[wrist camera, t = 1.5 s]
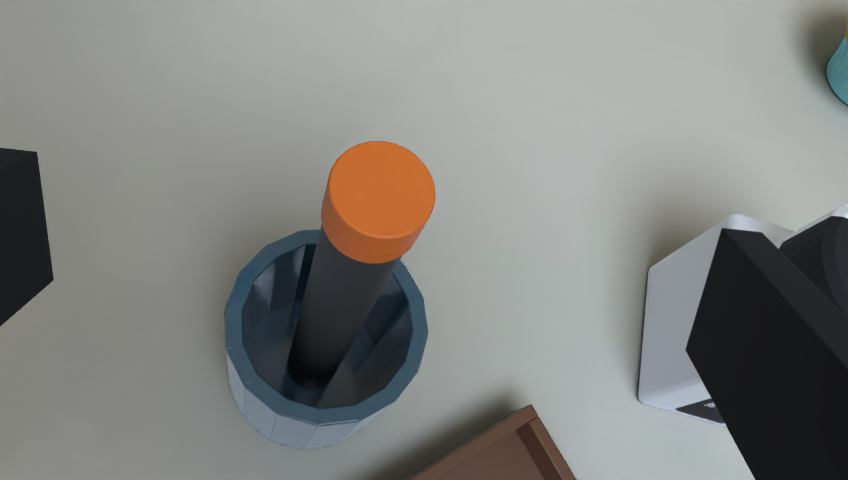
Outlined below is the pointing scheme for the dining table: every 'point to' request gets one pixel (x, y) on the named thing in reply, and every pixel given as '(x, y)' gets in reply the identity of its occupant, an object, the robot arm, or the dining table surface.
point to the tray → (503, 454)
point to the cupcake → (839, 70)
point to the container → (682, 289)
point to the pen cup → (272, 338)
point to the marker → (357, 251)
